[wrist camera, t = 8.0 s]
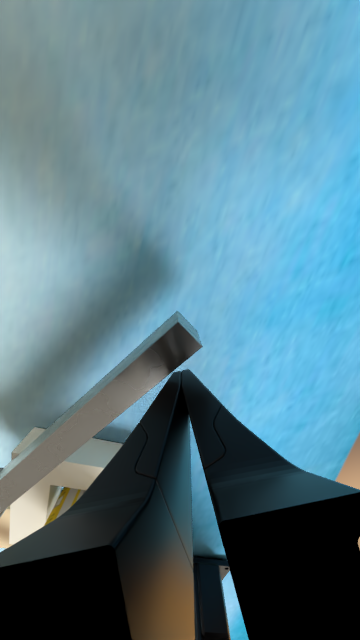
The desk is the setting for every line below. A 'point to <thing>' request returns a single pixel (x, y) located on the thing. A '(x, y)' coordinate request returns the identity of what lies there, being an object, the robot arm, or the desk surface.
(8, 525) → the coaster
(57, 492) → the socket housing
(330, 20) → the desk surface
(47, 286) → the desk surface
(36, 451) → the latch arm
